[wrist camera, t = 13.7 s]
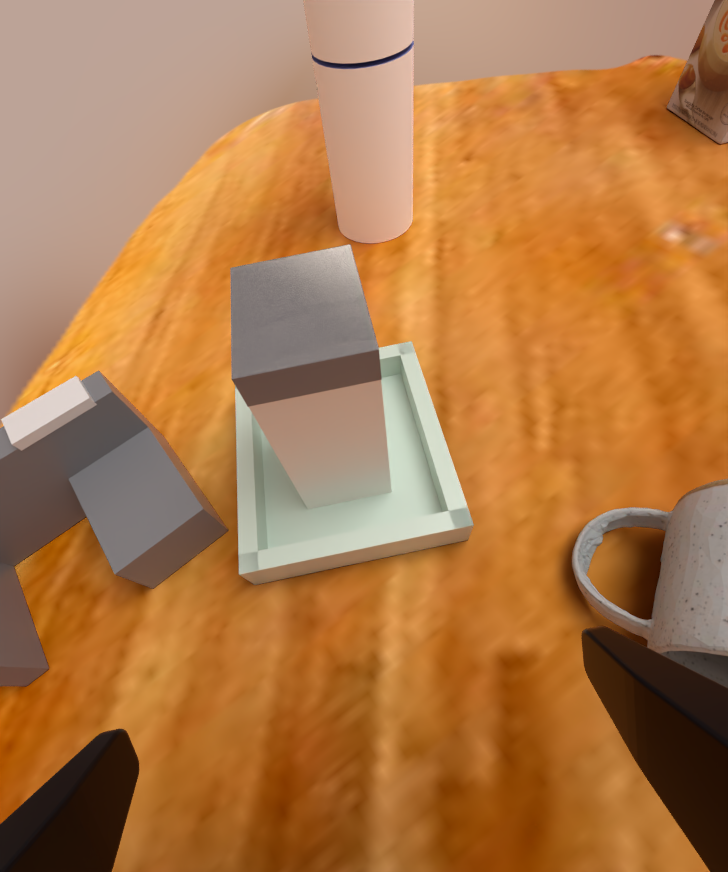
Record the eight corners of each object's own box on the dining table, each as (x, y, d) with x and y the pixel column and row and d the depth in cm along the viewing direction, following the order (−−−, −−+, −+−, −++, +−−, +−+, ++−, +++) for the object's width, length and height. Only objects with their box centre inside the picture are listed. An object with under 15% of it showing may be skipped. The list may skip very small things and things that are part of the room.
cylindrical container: (356, 252, 37) (283, -330, 16) (327, 214, 41) (237, -302, 19) (426, 226, 38) (446, -353, 17) (392, 191, 42) (373, -323, 20)
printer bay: (228, 530, 24) (165, 476, 18) (26, 686, 21) (-137, 686, 15) (163, 436, 28) (93, 365, 22) (-15, 554, 25) (-156, 510, 19)
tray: (467, 539, 23) (473, 524, 21) (255, 585, 23) (238, 574, 21) (411, 366, 30) (411, 341, 28) (247, 399, 29) (234, 377, 27)
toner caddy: (392, 492, 24) (378, 349, 14) (307, 509, 24) (231, 379, 14) (372, 409, 27) (350, 244, 17) (298, 425, 27) (230, 267, 17)
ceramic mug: (803, 561, 21) (979, 501, 14) (817, 745, 17) (1061, 779, 11) (578, 491, 24) (639, 416, 17) (550, 634, 20) (612, 607, 14)
